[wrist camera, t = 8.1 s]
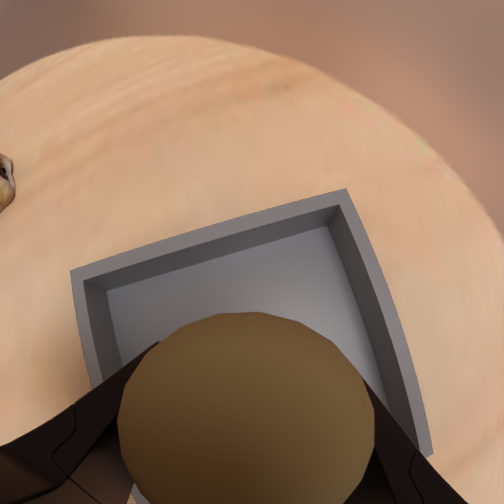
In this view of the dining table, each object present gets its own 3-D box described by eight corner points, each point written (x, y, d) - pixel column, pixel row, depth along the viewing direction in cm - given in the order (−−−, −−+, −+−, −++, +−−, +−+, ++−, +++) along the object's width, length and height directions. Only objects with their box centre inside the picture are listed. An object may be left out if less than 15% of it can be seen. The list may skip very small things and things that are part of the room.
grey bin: (171, 507, 14) (154, 536, 10) (101, 285, 18) (70, 270, 15) (403, 437, 15) (433, 453, 11) (329, 217, 20) (345, 188, 16)
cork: (198, 319, 15) (90, 253, 5) (315, 330, 15) (435, 286, 5) (186, 430, 13) (78, 539, 3) (303, 442, 13) (381, 571, 3)
